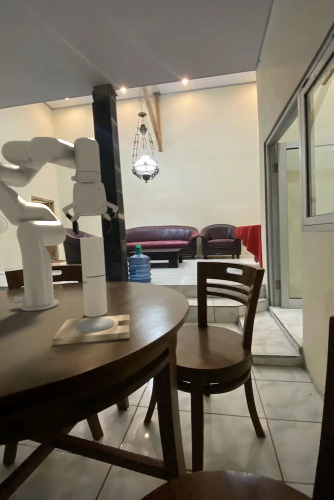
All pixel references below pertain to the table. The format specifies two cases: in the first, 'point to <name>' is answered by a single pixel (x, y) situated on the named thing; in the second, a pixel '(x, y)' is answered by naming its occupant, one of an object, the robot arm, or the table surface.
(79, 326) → the notched board
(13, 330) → the table surface
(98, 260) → the cylindrical container
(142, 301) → the table surface
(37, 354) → the table surface
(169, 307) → the table surface
